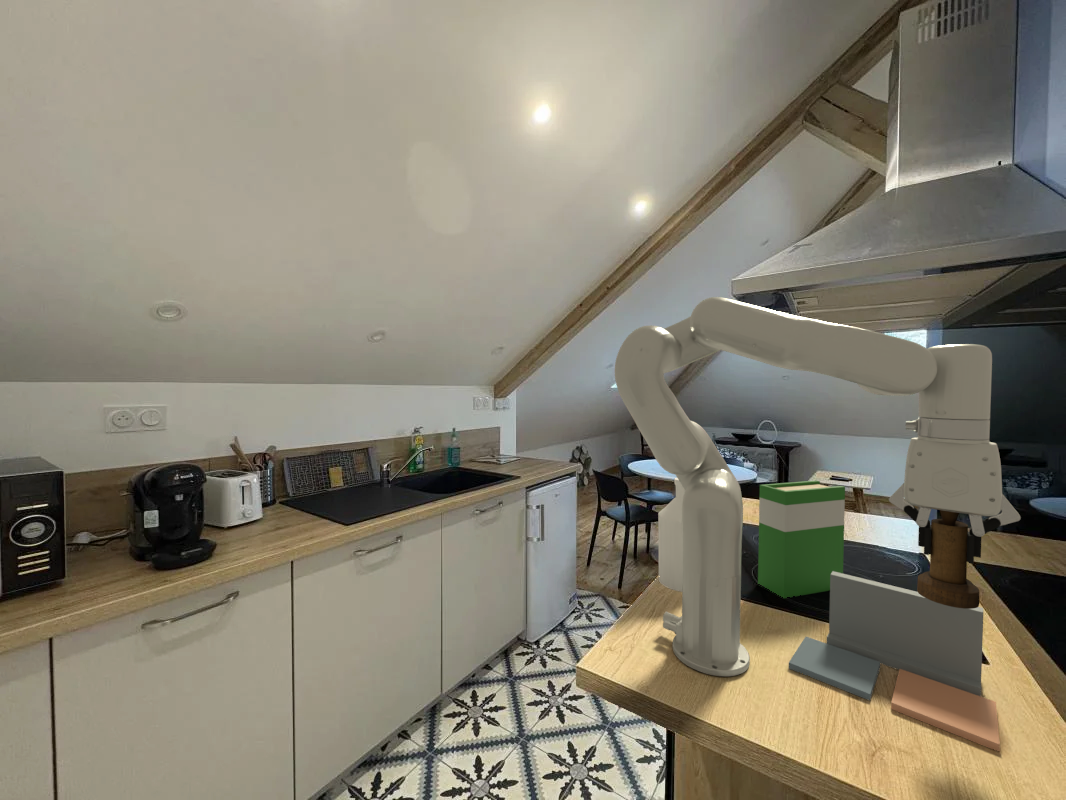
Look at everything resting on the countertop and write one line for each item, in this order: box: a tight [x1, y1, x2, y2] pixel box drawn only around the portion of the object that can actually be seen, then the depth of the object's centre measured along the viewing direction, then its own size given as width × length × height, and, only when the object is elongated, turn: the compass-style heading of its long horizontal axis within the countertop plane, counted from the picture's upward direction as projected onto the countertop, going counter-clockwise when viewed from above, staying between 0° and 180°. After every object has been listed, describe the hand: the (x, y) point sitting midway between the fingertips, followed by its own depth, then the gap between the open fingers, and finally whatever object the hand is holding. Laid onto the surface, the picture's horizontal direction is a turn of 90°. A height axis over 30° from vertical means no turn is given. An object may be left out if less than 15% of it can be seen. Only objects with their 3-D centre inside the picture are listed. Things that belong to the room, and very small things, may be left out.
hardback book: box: [757, 479, 846, 599], centre depth 106 cm, size 18×7×24 cm, turn 107°
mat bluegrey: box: [788, 636, 881, 701], centre depth 75 cm, size 11×11×1 cm
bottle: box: [657, 477, 685, 593], centre depth 108 cm, size 12×12×25 cm
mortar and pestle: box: [916, 510, 980, 609], centre depth 65 cm, size 7×6×18 cm
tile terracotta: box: [890, 669, 1001, 752], centre depth 66 cm, size 11×11×1 cm
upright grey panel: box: [826, 571, 984, 697], centre depth 77 cm, size 20×6×12 cm, turn 46°
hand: (948, 555), depth 65 cm, fingers closed on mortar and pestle, 3 cm apart
